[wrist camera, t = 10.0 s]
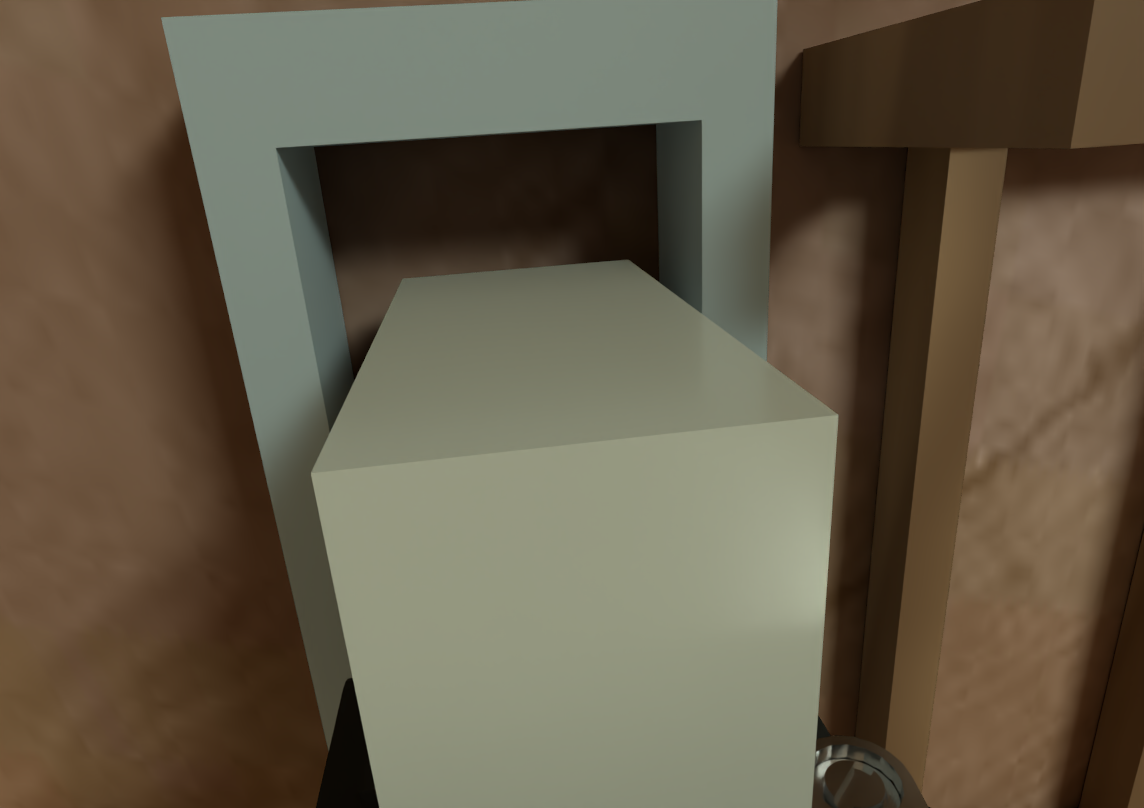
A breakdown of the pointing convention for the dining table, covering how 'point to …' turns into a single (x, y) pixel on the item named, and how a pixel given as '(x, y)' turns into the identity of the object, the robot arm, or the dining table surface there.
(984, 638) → the dining table surface
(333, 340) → the cradle
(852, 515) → the dining table surface
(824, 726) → the robot arm
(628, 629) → the pale sage tall block
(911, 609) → the rack
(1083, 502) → the dining table surface
